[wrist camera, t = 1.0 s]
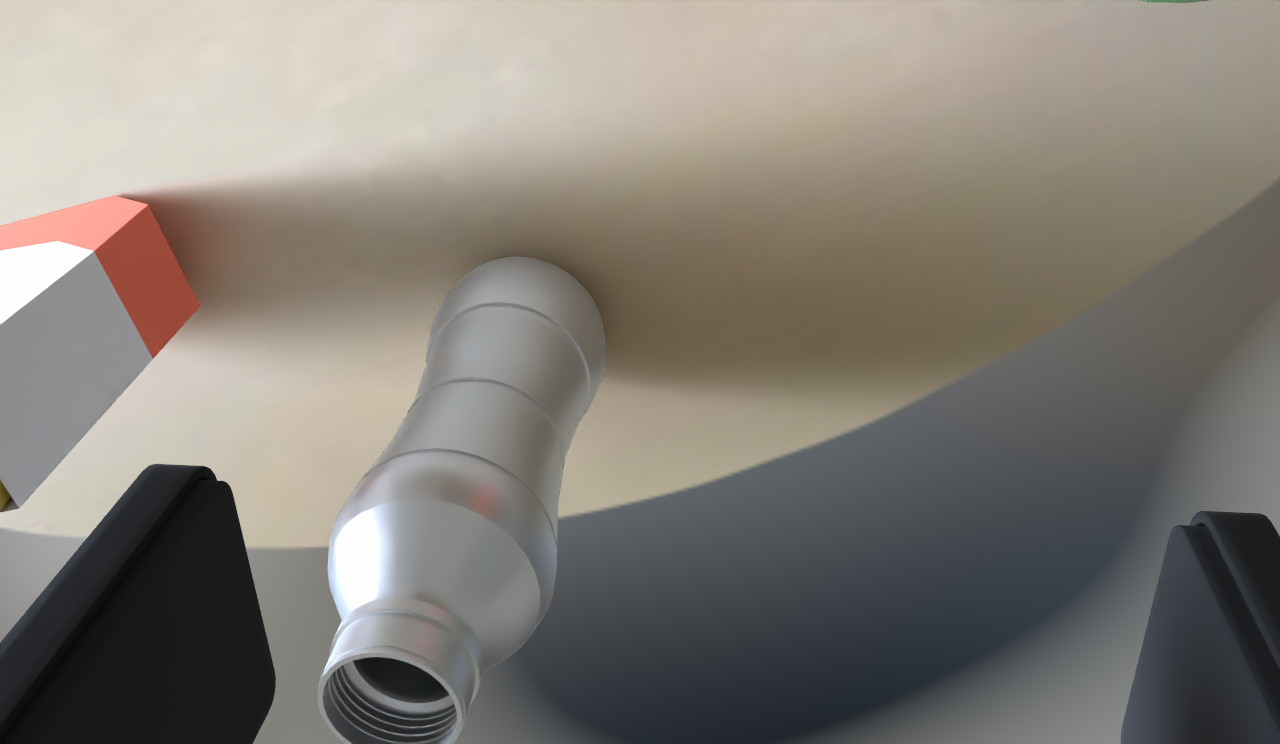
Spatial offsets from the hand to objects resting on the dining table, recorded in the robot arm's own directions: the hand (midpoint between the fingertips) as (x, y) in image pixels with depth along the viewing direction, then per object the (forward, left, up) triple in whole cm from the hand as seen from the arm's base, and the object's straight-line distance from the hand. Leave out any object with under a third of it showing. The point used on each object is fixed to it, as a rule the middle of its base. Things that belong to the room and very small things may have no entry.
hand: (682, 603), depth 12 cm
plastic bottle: (+5, -14, -31) cm, 34 cm away
